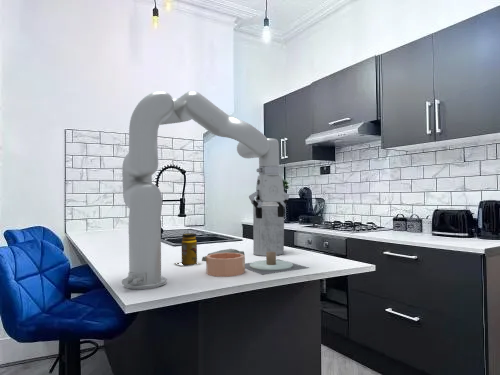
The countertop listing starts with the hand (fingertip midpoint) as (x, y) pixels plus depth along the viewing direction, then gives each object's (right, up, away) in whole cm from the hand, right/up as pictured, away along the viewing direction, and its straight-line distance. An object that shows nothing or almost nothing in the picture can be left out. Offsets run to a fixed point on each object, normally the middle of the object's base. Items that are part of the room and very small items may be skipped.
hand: (270, 217), depth 132 cm
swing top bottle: (+1, -19, +28) cm, 34 cm away
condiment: (-32, -19, +8) cm, 39 cm away
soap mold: (-19, -20, +21) cm, 35 cm away
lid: (0, -18, 0) cm, 18 cm away
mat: (0, -18, 0) cm, 19 cm away
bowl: (-16, -19, -9) cm, 26 cm away
